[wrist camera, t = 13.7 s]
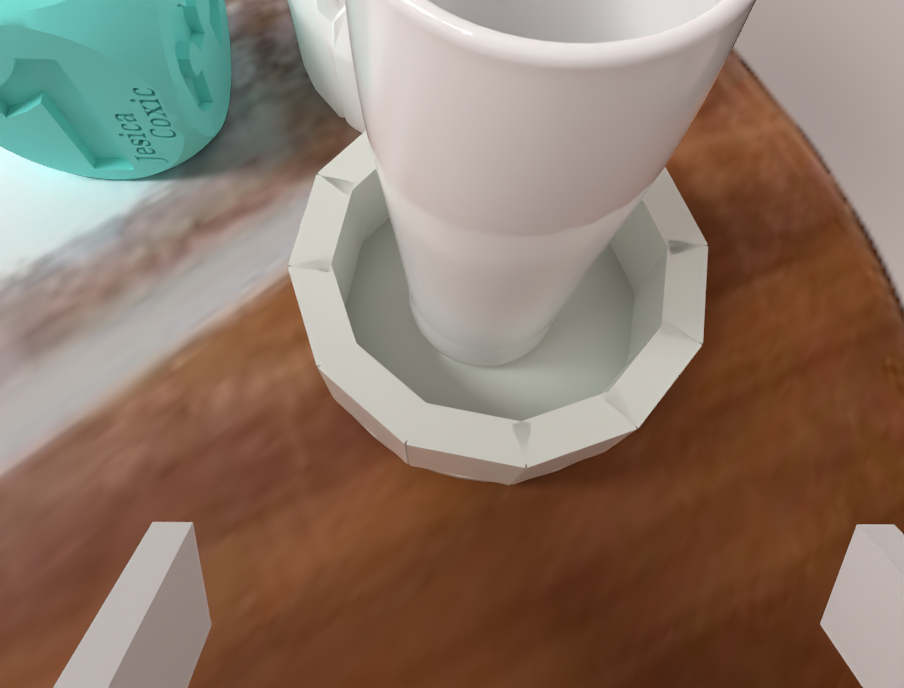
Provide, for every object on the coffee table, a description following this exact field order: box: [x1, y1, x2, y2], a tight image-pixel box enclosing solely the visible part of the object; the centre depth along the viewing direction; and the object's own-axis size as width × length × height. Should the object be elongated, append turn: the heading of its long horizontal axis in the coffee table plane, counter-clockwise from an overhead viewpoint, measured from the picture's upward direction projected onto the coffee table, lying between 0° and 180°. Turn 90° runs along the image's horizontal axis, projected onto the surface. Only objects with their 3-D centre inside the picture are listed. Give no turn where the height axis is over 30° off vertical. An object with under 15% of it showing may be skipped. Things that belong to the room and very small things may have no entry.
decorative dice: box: [0, 0, 231, 179], centre depth 23 cm, size 8×8×8 cm
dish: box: [288, 131, 708, 485], centre depth 22 cm, size 13×13×4 cm
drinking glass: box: [345, 0, 756, 366], centre depth 16 cm, size 7×7×15 cm
